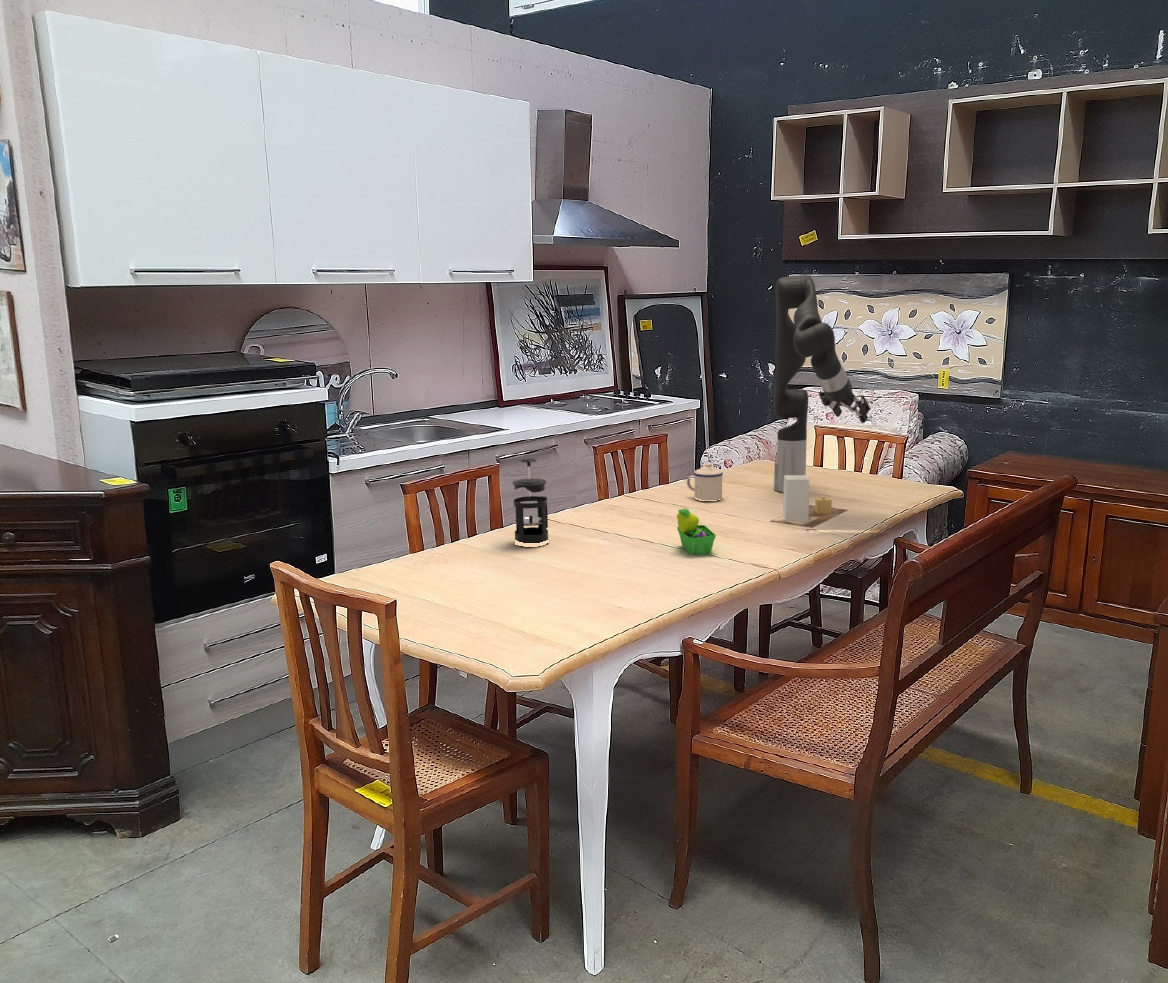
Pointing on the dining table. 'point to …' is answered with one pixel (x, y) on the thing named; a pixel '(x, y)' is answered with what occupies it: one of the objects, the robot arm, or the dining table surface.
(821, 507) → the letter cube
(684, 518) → the fruit basket
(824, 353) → the robot arm
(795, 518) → the white rounded block
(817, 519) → the board
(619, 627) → the dining table surface
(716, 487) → the teacup with lid
